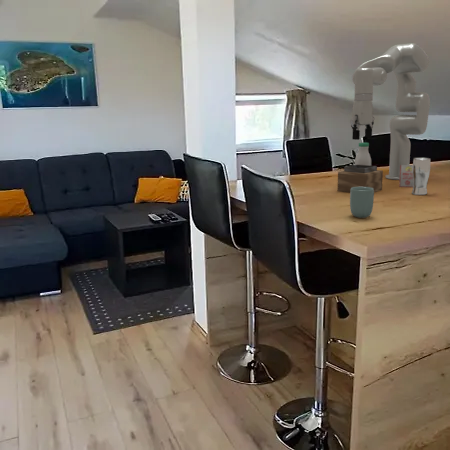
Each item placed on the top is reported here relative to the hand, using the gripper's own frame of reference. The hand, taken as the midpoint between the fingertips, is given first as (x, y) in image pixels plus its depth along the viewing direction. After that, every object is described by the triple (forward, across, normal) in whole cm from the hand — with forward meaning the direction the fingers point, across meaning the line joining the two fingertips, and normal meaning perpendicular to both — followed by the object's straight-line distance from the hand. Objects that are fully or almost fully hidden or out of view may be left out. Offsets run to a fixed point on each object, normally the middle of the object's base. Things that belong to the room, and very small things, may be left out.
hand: (362, 138), depth 211 cm
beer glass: (+24, -8, +24) cm, 34 cm away
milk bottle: (+24, -12, -7) cm, 27 cm away
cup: (+22, +44, +28) cm, 57 cm away
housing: (+23, +1, 0) cm, 23 cm away
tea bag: (+24, -21, +11) cm, 34 cm away
